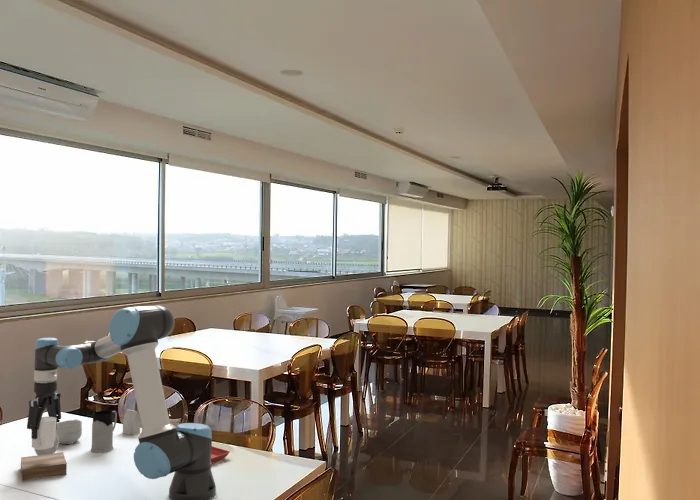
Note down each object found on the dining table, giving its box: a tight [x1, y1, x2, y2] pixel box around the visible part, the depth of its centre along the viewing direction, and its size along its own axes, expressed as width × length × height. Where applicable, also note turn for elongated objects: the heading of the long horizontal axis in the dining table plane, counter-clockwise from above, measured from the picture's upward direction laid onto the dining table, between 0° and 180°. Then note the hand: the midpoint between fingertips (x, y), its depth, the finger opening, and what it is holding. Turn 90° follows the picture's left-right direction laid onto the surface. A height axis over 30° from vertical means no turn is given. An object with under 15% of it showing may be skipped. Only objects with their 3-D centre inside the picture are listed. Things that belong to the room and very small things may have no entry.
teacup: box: [56, 418, 83, 445], centre depth 258 cm, size 14×11×8 cm
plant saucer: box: [211, 446, 230, 464], centre depth 237 cm, size 18×18×3 cm
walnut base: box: [20, 451, 68, 482], centre depth 221 cm, size 14×14×4 cm
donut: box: [34, 434, 60, 456], centre depth 237 cm, size 10×4×10 cm, turn 155°
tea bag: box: [122, 408, 141, 436], centre depth 271 cm, size 4×7×10 cm, turn 61°
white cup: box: [32, 416, 56, 450], centre depth 221 cm, size 8×8×10 cm
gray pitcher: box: [89, 409, 118, 454], centre depth 250 cm, size 9×14×15 cm, turn 170°
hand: (43, 443), depth 221 cm, fingers closed on white cup, 8 cm apart
